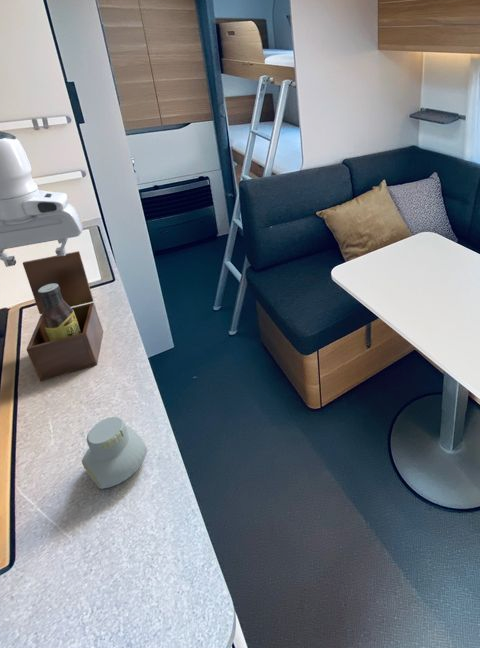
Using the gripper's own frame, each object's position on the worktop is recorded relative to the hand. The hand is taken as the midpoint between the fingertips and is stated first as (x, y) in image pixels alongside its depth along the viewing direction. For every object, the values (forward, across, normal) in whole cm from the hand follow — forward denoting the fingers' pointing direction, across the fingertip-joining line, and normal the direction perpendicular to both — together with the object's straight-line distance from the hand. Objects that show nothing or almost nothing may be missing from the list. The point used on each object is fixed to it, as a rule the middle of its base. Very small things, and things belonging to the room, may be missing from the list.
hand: (37, 260), depth 94 cm
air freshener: (+29, +13, -38) cm, 50 cm away
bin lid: (+11, 0, +8) cm, 14 cm away
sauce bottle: (+28, 0, 0) cm, 28 cm away
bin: (+28, 0, +1) cm, 29 cm away
